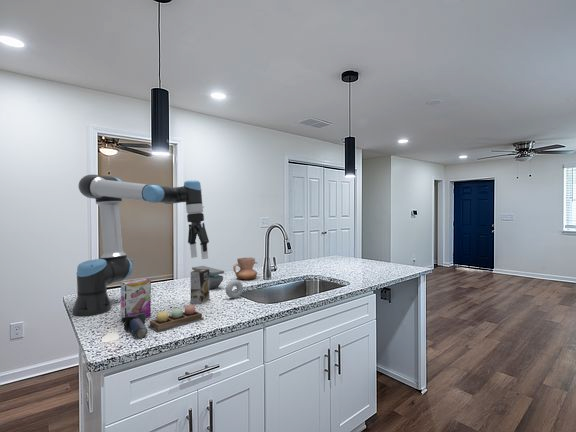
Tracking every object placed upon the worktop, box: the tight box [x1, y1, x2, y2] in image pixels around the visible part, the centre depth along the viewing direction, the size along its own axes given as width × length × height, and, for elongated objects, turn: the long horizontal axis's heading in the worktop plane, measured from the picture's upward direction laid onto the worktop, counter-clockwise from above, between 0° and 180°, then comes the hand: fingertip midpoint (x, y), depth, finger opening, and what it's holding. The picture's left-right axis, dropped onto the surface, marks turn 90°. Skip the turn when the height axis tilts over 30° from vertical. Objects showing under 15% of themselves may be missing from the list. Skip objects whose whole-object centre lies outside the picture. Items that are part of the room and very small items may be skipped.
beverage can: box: [121, 311, 148, 339], centre depth 120 cm, size 9×8×12 cm
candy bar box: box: [120, 278, 152, 324], centre depth 135 cm, size 11×5×16 cm, turn 141°
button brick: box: [184, 304, 196, 314], centre depth 134 cm, size 4×4×3 cm
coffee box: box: [190, 269, 210, 305], centre depth 161 cm, size 9×6×16 cm
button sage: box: [170, 307, 183, 318], centre depth 130 cm, size 4×4×3 cm
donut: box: [225, 279, 244, 299], centre depth 167 cm, size 10×4×10 cm, turn 130°
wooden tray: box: [147, 310, 204, 333], centre depth 130 cm, size 9×20×2 cm, turn 137°
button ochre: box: [156, 311, 169, 321], centre depth 125 cm, size 4×4×3 cm
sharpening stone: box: [191, 265, 225, 290], centre depth 193 cm, size 25×8×11 cm, turn 44°
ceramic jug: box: [232, 256, 259, 281], centre depth 215 cm, size 18×14×14 cm
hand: (199, 258), depth 147 cm, fingers open, 13 cm apart
